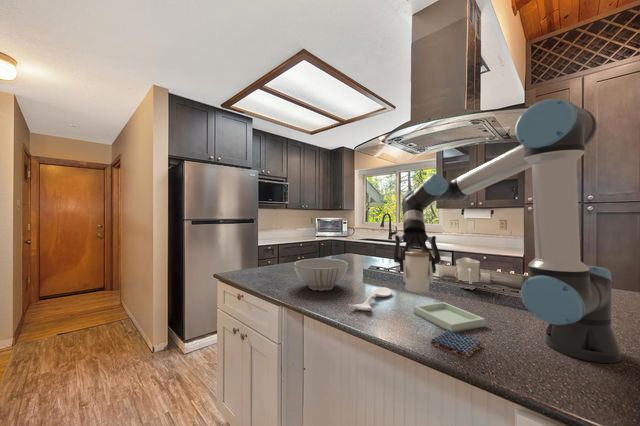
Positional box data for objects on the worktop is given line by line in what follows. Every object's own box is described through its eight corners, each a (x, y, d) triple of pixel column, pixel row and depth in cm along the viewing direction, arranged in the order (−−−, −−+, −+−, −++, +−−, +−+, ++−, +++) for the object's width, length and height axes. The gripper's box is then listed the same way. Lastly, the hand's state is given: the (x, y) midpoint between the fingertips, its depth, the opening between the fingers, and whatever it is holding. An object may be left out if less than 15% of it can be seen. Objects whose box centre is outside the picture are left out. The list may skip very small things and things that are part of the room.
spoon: (346, 312, 105) (346, 303, 105) (375, 291, 133) (375, 284, 133) (369, 317, 101) (369, 307, 101) (394, 294, 128) (394, 286, 128)
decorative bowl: (330, 299, 121) (330, 271, 121) (282, 289, 135) (282, 264, 135) (357, 285, 143) (357, 261, 143) (314, 278, 158) (313, 256, 158)
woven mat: (428, 346, 80) (428, 339, 80) (446, 335, 86) (446, 328, 86) (466, 361, 72) (466, 353, 72) (483, 348, 78) (483, 341, 78)
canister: (434, 291, 89) (434, 253, 89) (415, 293, 86) (415, 254, 86) (418, 285, 96) (418, 250, 96) (400, 287, 93) (400, 251, 93)
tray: (485, 326, 92) (485, 318, 92) (451, 332, 87) (451, 324, 87) (443, 308, 108) (443, 301, 108) (413, 313, 104) (413, 306, 104)
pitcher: (457, 293, 128) (457, 263, 128) (453, 283, 145) (453, 256, 145) (484, 295, 125) (484, 264, 125) (477, 285, 142) (477, 257, 141)
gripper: (442, 232, 103) (451, 288, 88) (385, 231, 108) (385, 284, 93) (444, 218, 98) (455, 275, 82) (385, 218, 103) (385, 272, 87)
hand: (418, 280), depth 88 cm, fingers closed on canister, 7 cm apart
